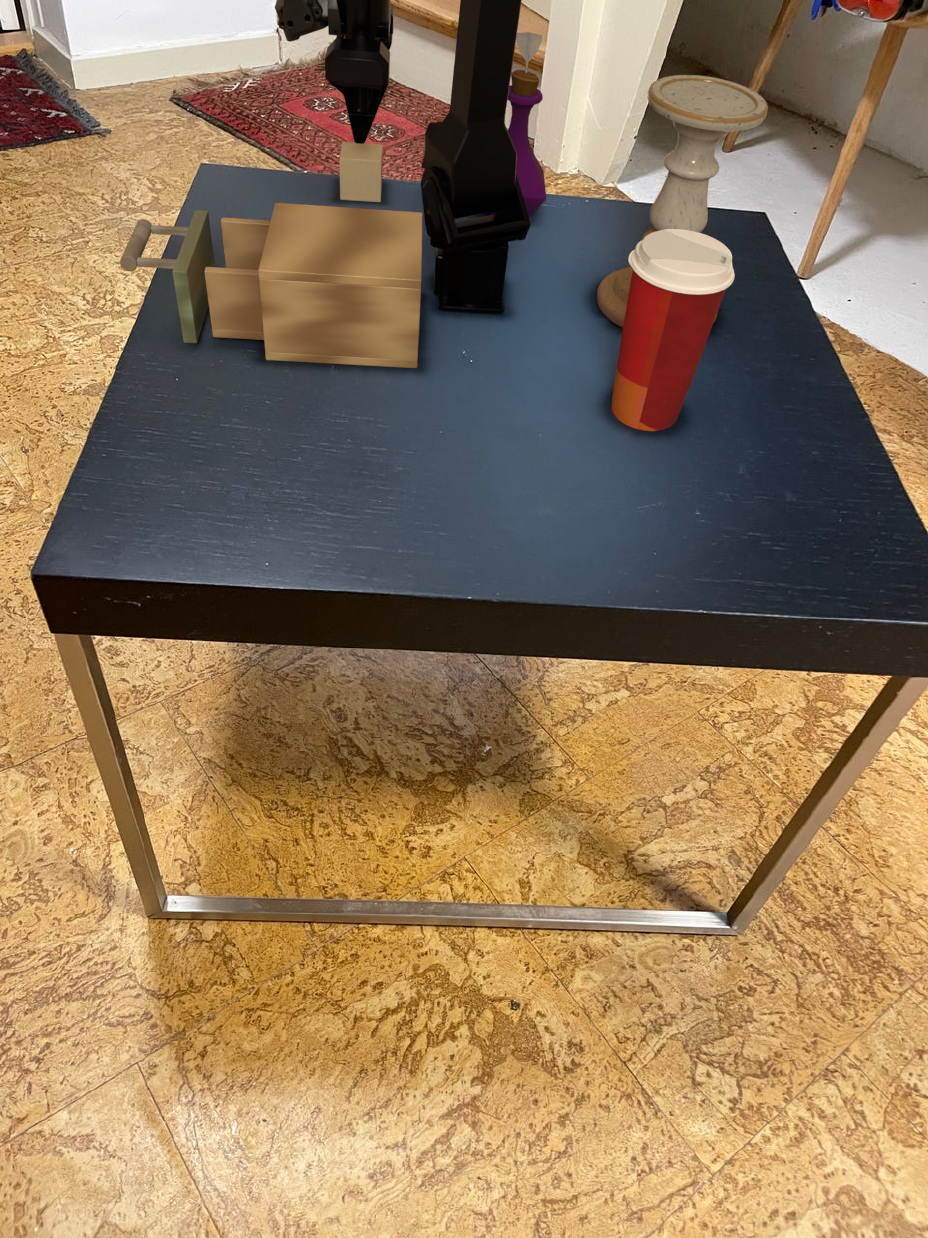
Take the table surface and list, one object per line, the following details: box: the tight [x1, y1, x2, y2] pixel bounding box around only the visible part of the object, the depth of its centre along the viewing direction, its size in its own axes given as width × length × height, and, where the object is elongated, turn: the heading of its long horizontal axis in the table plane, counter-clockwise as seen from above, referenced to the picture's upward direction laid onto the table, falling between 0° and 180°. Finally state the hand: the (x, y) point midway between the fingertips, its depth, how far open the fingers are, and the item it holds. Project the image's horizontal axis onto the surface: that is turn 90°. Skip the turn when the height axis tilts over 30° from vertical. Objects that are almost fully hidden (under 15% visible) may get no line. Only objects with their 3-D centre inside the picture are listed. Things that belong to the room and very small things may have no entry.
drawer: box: [119, 209, 271, 344], centre depth 86 cm, size 17×11×7 cm, turn 91°
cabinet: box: [258, 202, 424, 369], centre depth 87 cm, size 14×13×9 cm
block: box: [338, 141, 384, 203], centre depth 108 cm, size 5×5×5 cm
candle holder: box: [596, 74, 769, 329], centre depth 90 cm, size 12×12×20 cm
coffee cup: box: [611, 229, 736, 432], centre depth 79 cm, size 8×8×15 cm
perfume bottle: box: [489, 31, 547, 218], centre depth 103 cm, size 8×8×18 cm
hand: (361, 125), depth 104 cm, fingers open, 9 cm apart
